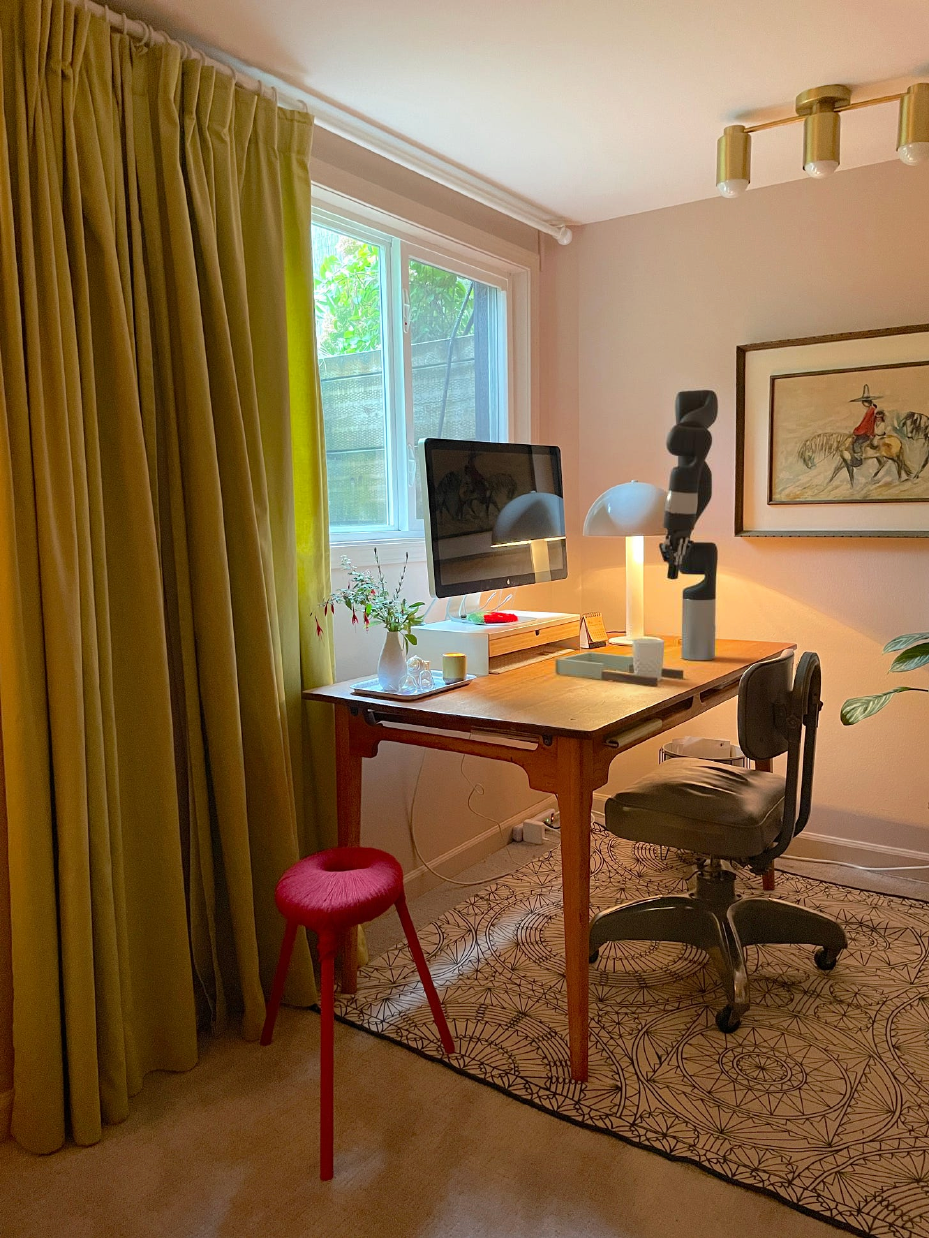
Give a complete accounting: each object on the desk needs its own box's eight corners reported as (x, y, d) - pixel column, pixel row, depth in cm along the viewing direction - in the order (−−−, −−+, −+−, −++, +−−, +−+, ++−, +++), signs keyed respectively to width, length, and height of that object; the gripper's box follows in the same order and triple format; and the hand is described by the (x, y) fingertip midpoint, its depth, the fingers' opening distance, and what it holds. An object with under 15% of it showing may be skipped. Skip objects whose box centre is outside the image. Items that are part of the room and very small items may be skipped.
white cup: (625, 679, 239) (625, 640, 237) (646, 675, 243) (647, 637, 242) (648, 683, 232) (649, 643, 231) (670, 680, 237) (670, 640, 236)
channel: (632, 671, 249) (632, 664, 249) (683, 678, 239) (683, 670, 239) (601, 679, 238) (601, 671, 238) (654, 686, 228) (654, 678, 228)
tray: (588, 666, 259) (588, 651, 258) (633, 671, 249) (633, 656, 249) (555, 673, 247) (555, 658, 247) (601, 679, 238) (601, 664, 237)
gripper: (681, 506, 238) (673, 573, 243) (653, 509, 229) (645, 578, 233) (708, 510, 233) (699, 578, 238) (680, 513, 224) (671, 584, 228)
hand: (672, 578), depth 235 cm, fingers closed
